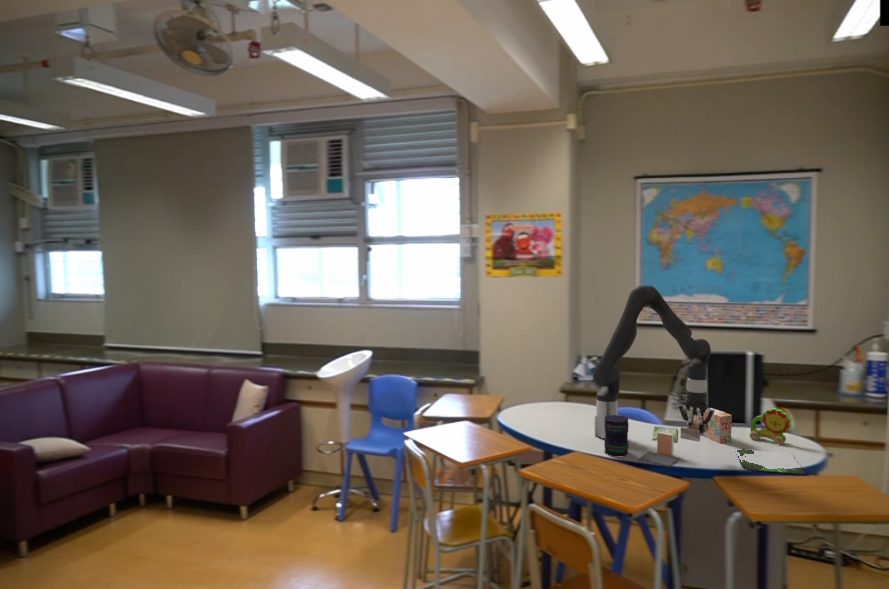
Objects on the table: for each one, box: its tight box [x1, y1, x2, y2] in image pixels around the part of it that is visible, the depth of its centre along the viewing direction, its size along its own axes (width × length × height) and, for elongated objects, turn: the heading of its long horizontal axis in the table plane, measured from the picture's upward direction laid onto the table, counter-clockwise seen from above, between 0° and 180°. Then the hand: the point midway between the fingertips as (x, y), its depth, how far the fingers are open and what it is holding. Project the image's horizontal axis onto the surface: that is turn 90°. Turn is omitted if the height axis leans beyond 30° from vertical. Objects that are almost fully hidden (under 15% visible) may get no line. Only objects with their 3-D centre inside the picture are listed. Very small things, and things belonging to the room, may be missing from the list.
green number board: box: [652, 425, 678, 443], centre depth 280 cm, size 20×1×10 cm
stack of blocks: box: [686, 407, 733, 444], centre depth 277 cm, size 21×6×12 cm, turn 18°
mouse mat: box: [737, 448, 807, 476], centre depth 244 cm, size 27×22×1 cm
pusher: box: [680, 421, 708, 442], centre depth 243 cm, size 17×7×4 cm, turn 139°
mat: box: [637, 451, 680, 468], centre depth 248 cm, size 13×11×1 cm
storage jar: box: [603, 414, 630, 457], centre depth 257 cm, size 10×10×15 cm
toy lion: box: [749, 407, 792, 446], centre depth 266 cm, size 16×5×15 cm, turn 44°
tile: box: [656, 432, 674, 457], centre depth 253 cm, size 6×2×9 cm, turn 49°
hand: (696, 432), depth 242 cm, fingers closed on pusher, 3 cm apart
